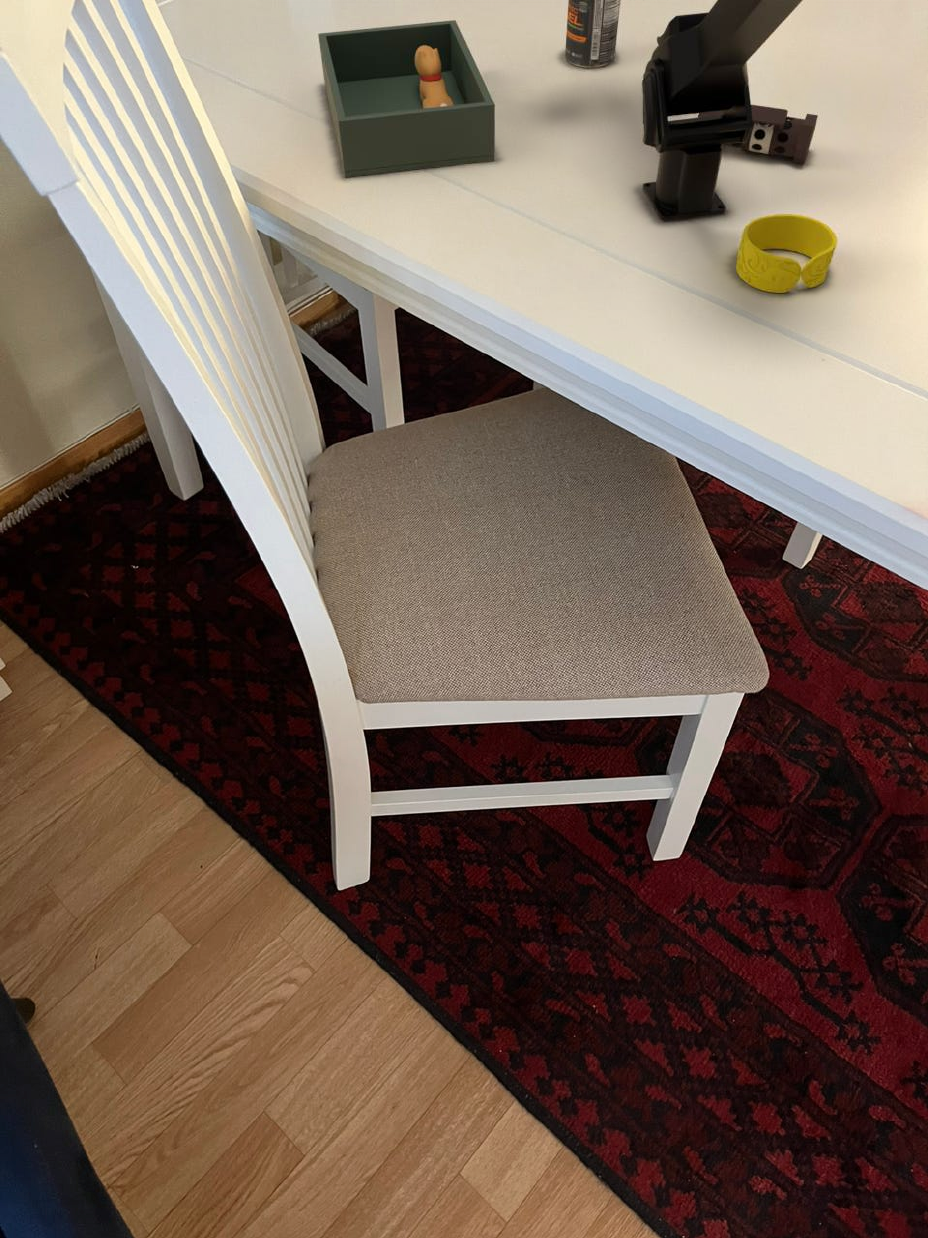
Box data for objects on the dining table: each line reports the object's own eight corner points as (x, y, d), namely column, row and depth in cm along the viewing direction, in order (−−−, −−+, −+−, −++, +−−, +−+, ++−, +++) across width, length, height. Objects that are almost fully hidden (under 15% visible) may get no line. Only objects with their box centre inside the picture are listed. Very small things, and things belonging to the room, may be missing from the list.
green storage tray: (494, 160, 97) (494, 104, 93) (345, 177, 96) (338, 120, 91) (456, 72, 110) (455, 19, 106) (324, 86, 109) (318, 33, 104)
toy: (438, 76, 108) (434, 28, 104) (467, 146, 98) (465, 96, 94) (409, 80, 108) (405, 33, 104) (436, 151, 97) (432, 100, 93)
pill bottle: (556, 52, 113) (562, -59, 104) (601, 44, 114) (610, -66, 105) (577, 72, 110) (585, -41, 101) (623, 63, 111) (635, -49, 102)
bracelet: (720, 255, 85) (728, 221, 83) (800, 241, 87) (809, 206, 84) (758, 299, 81) (767, 264, 78) (841, 283, 82) (852, 248, 80)
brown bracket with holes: (801, 173, 96) (807, 143, 91) (692, 155, 99) (693, 124, 94) (813, 134, 97) (820, 102, 91) (704, 117, 99) (705, 85, 94)
